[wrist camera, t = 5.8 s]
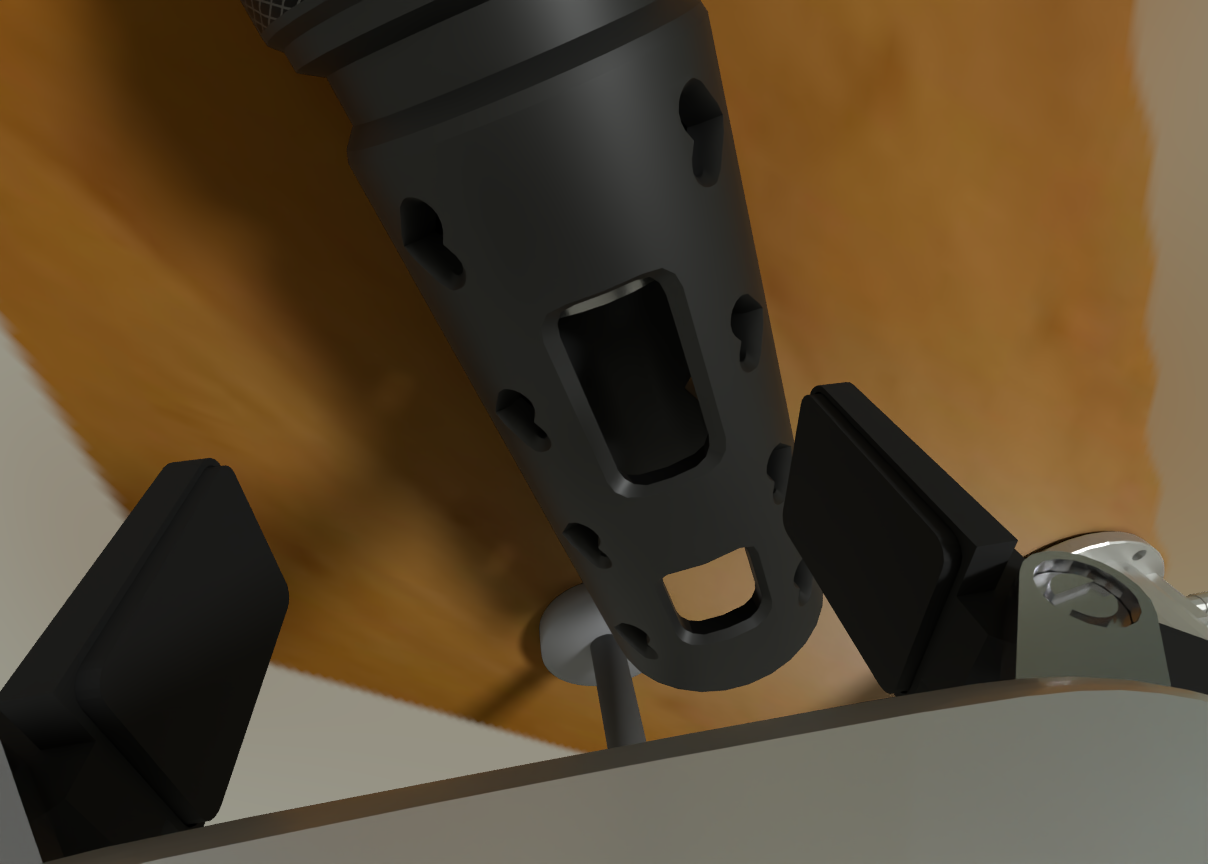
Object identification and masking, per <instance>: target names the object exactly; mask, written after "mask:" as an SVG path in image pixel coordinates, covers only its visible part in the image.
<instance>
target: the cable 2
mask: <svg viewBox="0 0 1208 864" xmlns="http://www.w3.org/2000/svg"><path fill="white" fill-rule="evenodd" d="M539 632H540V643H541V654H542V659H543V662H544V664H545V666H546V667H547V669H548V670H549V671H550V672H551V673H552V674H553V675H555V676H556V677H558V678H559V679H561V680H564V681H566V682H569V683H573V684H577V685H585V686H597V690H598V696H599V701H600V707H601V713H602V719H603V724H604V730H605V736H606V742H607V747H608V749H611V748H616V747H621V746H627V745H632V744H637V743H643V742H646V739H645V734H644V730H643V726H642V721H641V717H640V713H639V708H638V704H637V700H636V695H635V691H634V687H633V682H632V677H634V676H636V675H638V674H640V673H642V672H640V671H639V670H638V669H637V668H636V667H635V666H634V665H633V664H632V663H631V662H630V661H629V660H628V659H627V658H626V656H625V655H624V653H623V652H622V650H621V649H620V647H619V645H618V644H617V642H616V640H615V639H614V637H613V635H612V633H611V631H610V630H609V628H608V626H607V624H606V623H605V621H604V619H603V617H602V615H601V614H600V612H599V610H598V608H597V606H596V605H595V603H594V601H593V599H592V597H591V596H590V594H589V592H588V590H587V589H586V587H585V585H584V583H582V584H579V585H577V586H574V587H572V588H570V589H569V590H567V591H565V592H564V593H562V594H561V595H559V596H558V597H557V598H556V599H554V600H553V601H552V602H551V603H550V604H549V606H548V607H547V608H546V610H545V611H544V613H543V615H542V618H541V621H540V626H539Z"/></svg>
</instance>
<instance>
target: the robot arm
mask: <svg viewBox="0 0 1208 864" xmlns="http://www.w3.org/2000/svg"><path fill="white" fill-rule="evenodd" d="M782 516H783V524H784V528H785V530H786V532H787V534H788V536H789V538H790V539H791V541H792V543H793V544H794V546H795V548H796V549H797V551H798V552H799V554H800V556H801V557H802V559H803V561H804V562H805V564H806V566H807V567H808V569H809V570H810V572H811V574H812V575H813V577H814V579H815V580H816V582H817V584H818V585H819V587H820V588H821V590H822V592H823V593H824V595H825V597H826V598H827V600H828V602H829V603H830V605H831V606H832V608H833V610H834V611H835V613H836V615H837V616H838V618H839V620H840V621H841V623H842V624H843V626H844V628H845V629H846V631H847V633H848V634H849V636H850V638H851V639H852V641H853V643H854V644H855V646H856V647H857V649H858V651H859V652H860V654H861V656H862V657H863V659H864V661H865V662H866V664H867V665H868V667H869V669H870V670H871V672H872V674H873V675H874V677H875V679H876V680H877V682H878V683H879V685H880V686H881V688H882V689H883V690H884V691H885V692H887V693H889V694H891V693H894V694H895V696H896V697H892V698H886V699H880V700H874V701H867V702H862V703H856V704H851V705H845V706H840V707H834V708H829V709H823V710H818V711H812V712H807V713H801V714H796V715H790V716H785V717H779V718H774V719H768V720H763V721H757V722H752V723H746V724H741V725H735V726H730V727H724V728H719V729H713V730H708V731H702V732H697V733H691V734H686V735H680V736H675V737H670V738H664V739H659V740H654V741H648V742H643V743H637V744H632V745H627V746H621V747H616V748H611V749H605V750H600V751H594V752H589V753H584V754H578V755H573V756H568V757H563V758H558V759H552V760H547V761H541V762H536V763H530V764H525V765H520V766H515V767H509V768H505V769H499V770H493V771H489V772H483V773H477V774H472V775H467V776H461V777H456V778H451V779H446V780H440V781H435V782H430V783H425V784H420V785H415V786H409V787H404V788H399V789H394V790H388V791H383V792H378V793H373V794H368V795H363V796H357V797H353V798H347V799H342V800H337V801H331V802H326V803H321V804H316V805H310V806H306V807H300V808H295V809H290V810H285V811H280V812H274V813H269V814H264V815H259V816H253V817H248V818H243V819H239V820H234V821H229V822H224V823H219V824H214V825H210V826H205V827H204V824H205V821H210V820H212V819H213V818H214V817H215V816H216V814H217V813H218V811H219V809H220V807H221V804H222V801H223V798H224V795H225V792H226V790H227V787H228V784H229V781H230V778H231V775H232V772H233V769H234V766H235V763H236V760H237V757H238V754H239V751H240V748H241V745H242V742H243V739H244V736H245V733H246V730H247V727H248V724H249V721H250V718H251V715H252V712H253V709H254V706H255V703H256V700H257V697H258V694H259V692H260V688H261V686H262V682H263V679H264V677H265V674H266V671H267V668H268V665H269V662H270V659H271V656H272V653H273V650H274V647H275V644H276V641H277V638H278V635H279V632H280V629H281V626H282V623H283V620H284V617H285V614H286V611H287V608H288V604H289V592H288V587H287V584H286V582H285V579H284V577H283V575H282V573H281V571H280V569H279V567H278V565H277V563H276V560H275V558H274V556H273V554H272V552H271V550H270V548H269V546H268V543H267V541H266V539H265V537H264V535H263V533H262V531H261V529H260V526H259V524H258V522H257V520H256V518H255V516H254V514H253V512H252V509H251V507H250V505H249V503H248V501H247V499H246V497H245V495H244V492H243V490H242V488H241V486H240V484H239V482H238V480H237V478H236V475H235V473H234V472H233V470H232V469H231V468H230V467H229V466H226V465H225V466H220V464H219V463H218V462H217V461H216V460H215V459H212V458H206V459H197V460H189V461H181V462H173V463H169V464H167V465H166V466H165V467H164V468H163V469H162V471H161V472H160V473H159V475H158V476H157V478H156V479H155V480H154V482H153V483H152V484H151V486H150V487H149V489H148V490H147V491H146V493H145V494H144V495H143V497H142V498H141V499H140V501H139V502H138V504H137V505H136V506H135V508H134V509H133V510H132V512H131V513H130V515H129V516H128V517H127V519H126V520H125V521H124V523H123V524H122V525H121V527H120V528H119V530H118V531H117V532H116V534H115V535H114V536H113V538H112V539H111V541H110V542H109V543H108V545H107V546H106V548H105V549H104V550H103V552H102V553H101V554H100V556H99V557H98V558H97V560H96V561H95V562H94V564H93V565H92V567H91V568H90V569H89V571H88V572H87V573H86V575H85V576H84V578H83V579H82V580H81V582H80V583H79V584H78V586H77V587H76V589H75V590H74V591H73V593H72V594H71V595H70V597H69V598H68V599H67V601H66V602H65V604H64V605H63V607H62V608H61V609H60V610H59V612H58V613H57V615H56V616H55V617H54V619H53V620H52V621H51V623H50V624H49V625H48V627H47V628H46V630H45V631H44V632H43V634H42V635H41V636H40V638H39V639H38V641H37V642H36V643H35V645H34V646H33V647H32V649H31V650H30V651H29V653H28V654H27V656H26V657H25V658H24V660H23V661H22V662H21V664H20V665H19V667H18V668H17V669H16V671H15V672H14V673H13V675H12V676H11V677H10V679H9V680H8V682H7V683H6V684H5V686H4V687H3V689H2V690H1V691H0V864H1208V592H1202V593H1196V594H1190V595H1188V596H1186V597H1185V596H1184V595H1182V594H1181V593H1180V592H1179V591H1177V590H1176V589H1175V588H1174V587H1172V586H1171V585H1170V584H1169V583H1167V582H1166V581H1165V580H1164V579H1163V576H1164V561H1163V559H1162V557H1161V555H1160V553H1159V552H1158V551H1157V550H1156V549H1155V548H1153V547H1152V546H1151V545H1150V544H1148V543H1147V542H1146V541H1145V540H1143V539H1142V538H1140V537H1138V536H1136V535H1134V534H1130V533H1125V532H1099V533H1093V534H1087V535H1083V536H1080V537H1076V538H1073V539H1069V540H1066V541H1064V542H1061V543H1059V544H1057V545H1054V546H1052V547H1049V548H1047V549H1045V550H1044V551H1042V552H1039V553H1035V554H1032V555H1030V556H1029V557H1028V558H1027V559H1025V558H1024V557H1023V556H1022V555H1021V554H1020V553H1019V552H1017V551H1016V550H1015V549H1014V548H1015V546H1016V544H1017V541H1018V540H1017V539H1016V538H1015V537H1014V536H1013V535H1012V534H1011V533H1010V532H1009V531H1008V530H1007V529H1006V528H1004V527H1003V526H1002V525H1001V524H1000V523H999V522H998V521H997V520H996V519H995V518H994V517H993V516H992V515H991V514H990V513H989V512H988V511H986V510H985V509H984V508H983V507H982V506H981V505H980V504H979V503H978V502H977V501H976V500H975V499H974V498H973V497H972V496H971V495H970V494H968V493H967V492H966V491H965V490H964V489H963V488H962V487H961V486H960V485H959V484H958V483H957V482H956V481H955V480H954V479H953V478H952V477H951V476H949V475H948V474H947V473H946V472H945V471H944V470H943V469H942V468H941V467H940V466H939V465H938V464H937V463H936V462H935V461H934V460H933V459H931V458H930V457H929V456H928V455H927V454H926V453H925V452H924V451H923V450H922V449H921V448H920V447H919V446H918V445H917V444H916V443H915V442H913V441H912V440H911V439H910V438H909V437H908V436H907V435H906V434H905V433H904V432H903V431H902V430H901V429H900V428H899V427H898V426H897V425H895V424H894V423H893V422H892V421H891V420H890V419H889V418H888V417H887V416H886V415H885V414H884V413H883V412H882V411H881V410H880V409H879V408H877V407H876V406H875V405H874V404H873V403H872V402H871V401H870V400H869V399H868V398H867V397H866V396H865V395H864V394H863V393H862V392H861V391H860V390H858V389H857V388H856V387H855V386H854V385H853V384H851V383H850V382H844V383H835V384H827V385H818V386H816V387H814V388H813V389H812V391H811V393H810V395H806V396H805V397H804V398H803V399H802V402H801V407H800V413H799V419H798V425H797V431H796V437H795V443H794V448H793V454H792V460H791V466H790V472H789V478H788V484H787V490H786V496H785V501H784V507H783V515H782Z"/></svg>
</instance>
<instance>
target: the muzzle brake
mask: <svg viewBox="0 0 1208 864" xmlns="http://www.w3.org/2000/svg"><path fill="white" fill-rule="evenodd" d="M240 1H241V2H242V4H243V6H244V8H245V9H246V11H247V13H248V15H249V16H250V18H251V20H252V22H253V23H254V25H255V27H256V29H257V30H258V32H259V34H260V36H261V37H262V39H263V40H264V42H265V43H266V44H267V46H268V47H270V48H273V49H276V50H279V51H281V52H284V53H285V55H286V56H287V58H288V60H289V61H290V63H291V65H292V66H293V68H294V70H295V71H296V73H299V74H306V75H312V76H319V77H326V78H327V79H328V81H329V83H330V85H331V87H332V88H333V90H334V92H335V94H336V96H337V98H338V99H339V101H340V103H341V105H342V107H343V108H344V110H345V112H346V114H347V116H348V118H349V119H350V121H351V123H352V125H353V127H352V131H351V135H350V139H349V142H348V146H347V156H348V163H349V165H350V167H351V169H352V171H353V172H354V174H355V176H356V178H357V180H358V181H359V183H360V185H361V187H362V188H363V190H364V192H365V194H366V196H367V197H368V199H369V201H370V203H371V205H372V206H373V208H374V210H375V212H376V213H377V215H378V217H379V219H380V221H381V222H382V224H383V226H384V228H385V230H386V231H387V233H388V235H389V237H390V238H391V240H392V242H393V244H394V246H395V247H396V249H397V251H398V253H399V255H400V256H401V258H402V260H403V262H404V263H405V265H406V267H407V269H408V271H409V272H410V274H411V276H412V278H413V280H414V281H415V283H416V285H417V287H418V288H419V290H420V292H421V294H422V296H423V297H424V299H425V301H426V303H427V305H428V306H429V308H430V310H431V312H432V313H433V315H434V317H435V319H436V321H437V322H438V324H439V326H440V328H441V330H442V331H443V333H444V335H445V337H446V338H447V340H448V342H449V344H450V346H451V347H452V349H453V351H454V353H455V355H456V356H457V358H458V360H459V362H460V363H461V365H462V367H463V369H464V371H465V372H466V374H467V376H468V378H469V380H470V381H471V383H472V385H473V387H474V388H475V390H476V392H477V394H478V396H479V397H480V399H481V401H482V403H483V405H484V406H485V408H486V410H487V412H488V414H489V415H490V417H491V419H492V421H493V422H494V424H495V426H496V428H497V430H498V431H499V433H500V435H501V437H502V439H503V440H504V442H505V444H506V446H507V447H508V449H509V451H510V453H511V455H512V456H513V458H514V460H515V462H516V464H517V465H518V467H519V469H520V471H521V472H522V474H523V476H524V478H525V480H526V481H527V483H528V485H529V487H530V489H531V490H532V492H533V494H534V496H535V497H536V499H537V501H538V503H539V505H540V506H541V508H542V510H543V512H544V514H545V515H546V517H547V519H548V521H549V522H550V524H551V526H552V528H553V530H554V531H555V533H556V535H557V537H558V539H559V540H560V542H561V544H562V546H563V547H564V549H565V551H566V553H567V555H568V556H569V558H570V560H571V562H572V564H573V565H574V567H575V569H576V571H577V572H578V574H579V576H580V578H581V580H582V581H583V583H584V585H585V587H586V589H587V590H588V592H589V594H590V596H591V597H592V599H593V601H594V603H595V605H596V606H597V608H598V610H599V612H600V614H601V615H602V617H603V619H604V621H605V623H606V624H607V626H608V628H609V630H610V631H611V633H612V635H613V637H614V639H615V640H616V642H617V644H618V645H619V647H620V649H621V650H622V652H623V653H624V655H625V656H626V658H627V659H628V660H629V661H630V662H631V663H632V664H633V665H634V666H635V667H636V668H637V669H638V670H639V671H640V672H642V673H643V674H645V675H647V676H648V677H650V678H652V679H653V680H655V681H657V682H659V683H662V684H665V685H668V686H671V687H674V688H677V689H683V690H690V691H698V692H707V691H722V690H728V689H732V688H736V687H740V686H744V685H748V684H750V683H753V682H755V681H757V680H759V679H761V678H763V677H765V676H767V675H770V674H772V673H773V672H774V671H776V670H777V669H778V668H780V667H781V666H783V665H784V664H785V663H787V662H788V661H789V660H791V659H792V657H793V656H794V655H795V654H796V653H797V652H798V651H799V650H800V649H801V648H802V647H803V645H804V644H805V643H806V642H807V640H808V638H809V637H810V635H811V633H812V631H813V630H814V628H815V626H816V625H817V622H818V618H819V615H820V612H821V608H822V603H823V592H822V590H821V588H820V587H819V585H818V584H817V582H816V580H815V579H814V577H813V575H812V574H811V572H810V570H809V569H808V567H807V566H806V564H805V562H804V561H803V559H802V557H801V556H800V554H799V552H798V551H797V549H796V548H795V546H794V544H793V543H792V541H791V539H790V538H789V536H788V534H787V532H786V530H785V528H784V524H783V516H782V515H783V507H784V501H785V496H786V490H787V484H788V478H789V472H790V466H791V460H792V454H793V448H794V439H793V434H792V429H791V424H790V419H789V414H788V409H787V404H786V399H785V394H784V389H783V384H782V379H781V374H780V369H779V365H778V360H777V355H776V350H775V345H774V340H773V335H772V330H771V325H770V320H769V315H768V310H767V305H766V300H765V295H764V290H763V285H762V280H761V275H760V270H759V265H758V260H757V255H756V250H755V245H754V240H753V235H752V230H751V225H750V220H749V215H748V210H747V205H746V200H745V195H744V190H743V185H742V180H741V175H740V170H739V165H738V160H737V155H736V150H735V145H734V140H733V135H732V130H731V125H730V120H729V115H728V110H727V106H726V101H725V96H724V91H723V86H722V81H721V76H720V71H719V66H718V61H717V56H716V51H715V46H714V41H713V36H712V31H711V26H710V21H709V16H708V11H707V10H706V8H705V7H704V5H703V4H702V2H701V1H700V0H240ZM691 377H692V378H691ZM742 547H745V551H746V554H747V557H748V560H749V564H750V567H751V570H752V574H753V577H754V580H755V591H754V593H753V595H752V597H751V598H750V599H749V600H748V601H747V602H746V603H745V604H744V605H743V606H741V607H739V608H736V609H734V610H732V611H730V612H728V613H726V614H724V615H721V616H717V617H714V618H710V619H706V620H702V621H690V620H687V619H685V618H683V617H681V616H680V615H679V614H678V613H677V611H676V609H675V607H674V605H673V602H672V600H671V598H670V596H669V593H668V591H667V589H666V587H665V584H664V582H663V579H662V578H663V577H664V576H666V575H668V574H671V573H675V572H679V571H682V570H686V569H689V568H693V567H696V566H700V565H703V564H706V563H708V562H710V561H712V560H715V559H717V558H719V557H721V556H723V555H725V554H728V553H730V552H732V551H734V550H736V549H738V548H742Z"/></svg>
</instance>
